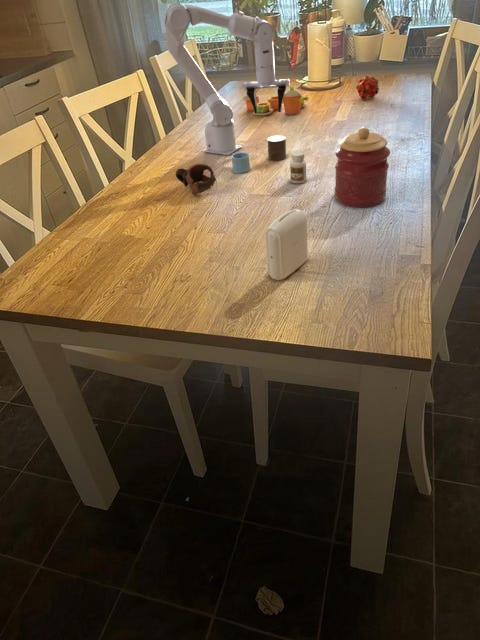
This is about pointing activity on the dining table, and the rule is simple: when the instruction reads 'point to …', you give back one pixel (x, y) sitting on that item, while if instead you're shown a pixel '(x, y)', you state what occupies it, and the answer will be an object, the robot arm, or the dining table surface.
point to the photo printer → (287, 244)
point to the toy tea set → (290, 100)
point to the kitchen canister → (361, 169)
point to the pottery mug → (196, 178)
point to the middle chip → (277, 150)
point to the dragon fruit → (367, 87)
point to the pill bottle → (298, 168)
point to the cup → (240, 162)
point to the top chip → (276, 141)
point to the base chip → (277, 156)
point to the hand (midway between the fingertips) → (268, 111)
